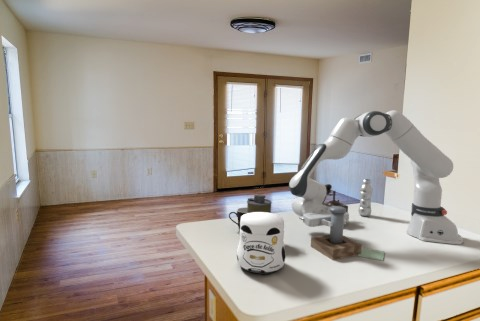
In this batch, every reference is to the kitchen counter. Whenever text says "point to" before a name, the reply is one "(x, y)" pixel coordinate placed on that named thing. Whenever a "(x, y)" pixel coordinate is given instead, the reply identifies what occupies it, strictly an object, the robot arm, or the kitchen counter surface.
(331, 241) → the grey capped peg
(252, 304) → the kitchen counter surface
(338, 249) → the socket block
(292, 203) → the robot arm
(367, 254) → the mat
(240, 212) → the coffee mug
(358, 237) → the kitchen counter surface
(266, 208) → the canister
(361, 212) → the plastic bottle
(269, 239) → the dulce de leche jar
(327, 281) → the kitchen counter surface
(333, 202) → the brown coffee grinder
